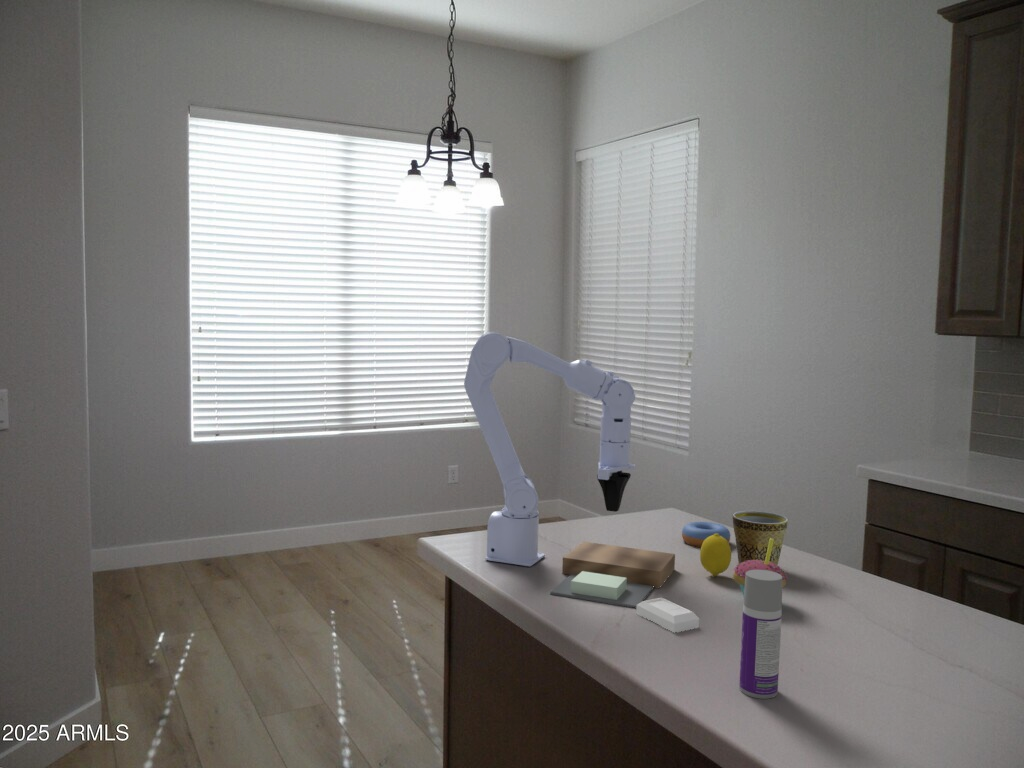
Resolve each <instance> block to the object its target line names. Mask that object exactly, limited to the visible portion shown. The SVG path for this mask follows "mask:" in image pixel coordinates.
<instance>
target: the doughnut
mask: <svg viewBox="0 0 1024 768" xmlns="http://www.w3.org/2000/svg"><path fill="white" fill-rule="evenodd" d="M715 533H717V534H719V535H720V536H722V537H723V538H725V539H726V540H727V541H728V543H729V542H730V540H731V532H730V530H729V528H728V527H727V526H725V525H723V524H720V523H717V522H710V521H692V522H689V523H687V524H685V525H684V526H683V528H682V530H681V538H682V539H683V541H684V542H685V543H686V544H687V545H689V544H690V545H689V546H692V547H697V548H701V546H702V543H703V542H704V540H705V539H706V538H707V537H709V536H711V535H714V534H715ZM729 544H730V543H729Z"/></svg>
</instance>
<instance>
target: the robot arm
mask: <svg viewBox="0 0 1024 768" xmlns="http://www.w3.org/2000/svg"><path fill="white" fill-rule="evenodd" d="M508 360H509V362H510V363H511V364H513V363H514V364H515V363H528V364H530V365H533V366H535V367H537V368H540V369H543V370H545V371H546V372H550V373H552V374H554V375H557V376H559V377H561V378H562V379H563V381H564V384H565V386H566V388H568V389H571V390H573V391H575V392H577V393H579V394H582V395H584V396H586V397H589V398H591V399H592V400H594V401H599V400H600V401H601V403H602V407H601V409H602V410H601V416H600V433H599V434H600V437H599V439H600V440H599V461H598V462H597V464H598V465H597V467H598V469H597V474H596V479H597V481H598V483H599V485H600V487H601V492H602V495H603V500H604V505H605V509H606V511H608V512H618V511H620V509H621V505H622V500H623V499H622V498H623V494H624V492H625V488H626V486H627V484H628V482H629V481H630V478H631V472H624V471H626V470H634V469H636V464H633V463H630V460H631V459H630V457H631V455H630V453H631V452H630V451H631V431H632V429H631V428H632V417H631V412H632V409H631V407H632V405H633V403H634V402H635V399H636V394H635V391H634V387H633V386H632V385H631V383H630V382H628V381H627V380H625V379H623V378H620V377H619V376H616V375H615V372H612V371H611V370H609V371H608V372H607V371H605V370H603V369H601V368H598V367H596V366H594V365H592V364H593V362H592V361H590V360H588V359H584V361H583V360H581V359H576V360H574V361H571V362H568V361H567V360H564V359H562V358H561V357H558V356H556V355H554V354H552V353H550V352H547V350H544V349H542V348H540V347H538V346H536V345H534V344H532V343H529V342H527V341H525V340H521V339H519V338H518V339H517V338H514V337H510V336H508V335H507V336H504V335H502V334H500V333H498V332H496V331H489V332H486V333H483V334H482V335H481V336H480V337H478V339H477V341H476V343H475V344H474V346H473V348H472V349H471V352H470V356H469V361H468V364H467V368H466V373H465V377H464V378H465V379H464V382H463V385H464V390H465V392H466V395H467V398H468V399H469V402H470V404H471V408H472V410H473V412H474V415H475V417H476V420H477V422H478V424H479V426H480V429H481V432H482V434H483V437H484V440H485V442H486V444H487V448H488V450H489V452H490V454H491V457H492V459H493V463H494V464H495V467H496V468H497V471H498V474H499V479H500V481H501V484H502V486H503V489H502V491H503V497H504V506H503V508H502V509H501V510H496V511H495V510H494V511H492V512H491V514H490V516H489V518H488V521H487V528H486V531H487V533H486V556H485V557H484V559H485V560H486V561H489V562H490V561H492V562H496V563H503V564H509V565H518V566H524V567H532V566H533V565H534V564H535V565H536V563H538V562H539V561H540V560H542V559H543V558H544V557H546V553H543V552H538V551H539V545H538V544H539V522H540V521H539V519H540V518H539V517H540V515H539V513H540V511H539V510H538V509H537V508H538V505H539V494H538V493H537V491H536V486H535V483H534V482H533V480H532V479H531V478H530V477H528V476H527V474H526V473H525V472H524V469H523V466H522V464H521V461H520V460H519V457H518V455H517V452H516V450H515V447H514V444H513V442H512V439H511V437H510V435H509V431H508V429H507V427H506V425H505V422H504V419H503V416H502V414H501V412H500V409H499V407H498V403H496V399H495V396H494V394H493V391H492V389H491V384H492V383H493V380H494V378H495V376H496V373H497V372H498V371H499V369H500V368H502V367H503V366H504V364H505V363H506V362H507V361H508Z"/></svg>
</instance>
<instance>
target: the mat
mask: <svg viewBox="0 0 1024 768" xmlns="http://www.w3.org/2000/svg"><path fill="white" fill-rule="evenodd" d="M576 576H577V574H571V575H569V576H567V577H566V578H565V579H564V580H562V581H561V582H560V583H559V584H558V585H557V586H555V587H554V588H552V589H551V591H550V592H549V593H550V595H555V596H560V597H564V598H565V597H566V598H572V599H577V600H584V601H589V602H597V603H601V602H602V603H603V604H607V603H609V604H608V605H613V604H616V605H615V606H620V605H621V607H626V606H627V607H628V608H632V607H635V608H634V609H636V607H637V604H639V603H641V602H642V601H643V600H644V601H645V599H646V598H647V597H648V596H649V594H650V593H651V592H652V591H653V589H654V588H653V586H649V585H642V584H636V583H629V582H627V585H626V590H625V591H624V592H623V593H622V595H621V596H620V597H619V598H618V599H617V600H614V599H608V598H602V597H596V596H590V595H583V594H577V593H571V581H572V580H573V579H574V578H575V577H576ZM652 588H653V589H652ZM651 590H652V591H651ZM650 591H651V592H650ZM649 592H650V593H649ZM648 593H649V594H648ZM647 595H648V596H647ZM646 596H647V597H646ZM645 597H646V598H645ZM644 598H645V599H644ZM602 603H601V604H602ZM627 607H626V608H627Z"/></svg>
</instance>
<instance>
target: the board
mask: <svg viewBox="0 0 1024 768" xmlns="http://www.w3.org/2000/svg"><path fill="white" fill-rule="evenodd" d="M675 564H676V554H675V553H670V552H664V551H663V552H662V551H655V550H648V549H642V548H641V549H640V548H634V547H625V546H618V545H611V544H604V543H597V542H589V541H582V542H581V543H580V544H578V545H577V546H576V547H574V548H573V549H572V550H570V551H569V552H568V553H566V554H565V555H564V556H562V568H561V569H562V571H561V573H562V575H569V576H570V575H571V574H577V575H578V574H580V573H581V572H582V571H585V572H591V573H598V574H605V575H612V576H618V577H625V578H627V582H629V583H636V584H642V585H649V586H654V587H660V586H661V585H662V584H663V583H664V584H665V582H666V581H667V580H668V579H669V577H670V576H671V575H672V574H673V572H674V571H675V569H676V567H675ZM673 570H674V571H673ZM670 574H671V575H670ZM669 575H670V576H669ZM668 576H669V577H668ZM667 578H668V579H667ZM666 579H667V580H666ZM665 580H666V581H665ZM664 581H665V582H664ZM664 584H663V585H664ZM663 585H662V586H663ZM662 586H661V587H662ZM661 587H660V588H661Z"/></svg>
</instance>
